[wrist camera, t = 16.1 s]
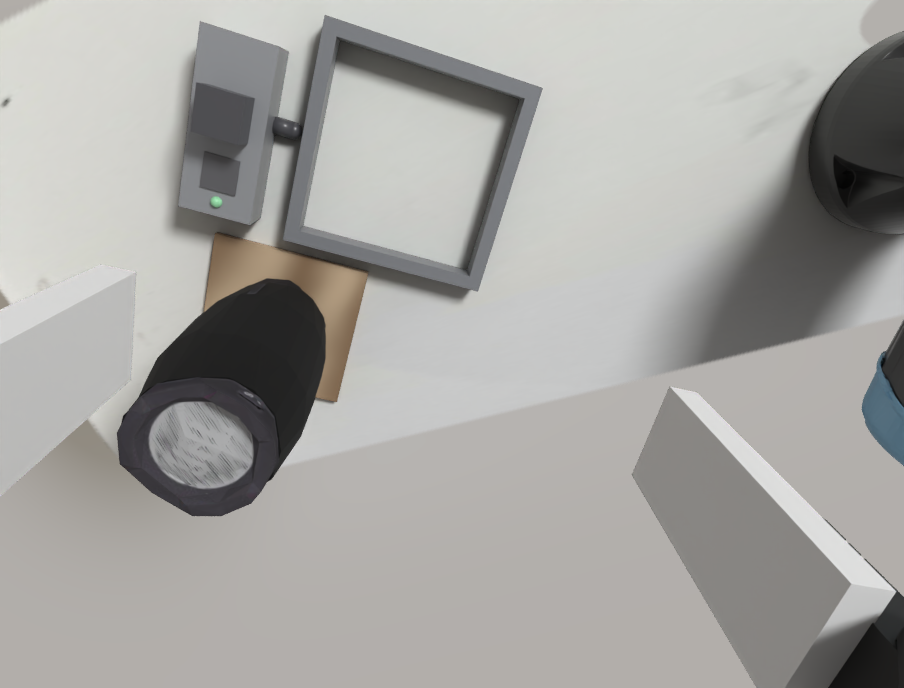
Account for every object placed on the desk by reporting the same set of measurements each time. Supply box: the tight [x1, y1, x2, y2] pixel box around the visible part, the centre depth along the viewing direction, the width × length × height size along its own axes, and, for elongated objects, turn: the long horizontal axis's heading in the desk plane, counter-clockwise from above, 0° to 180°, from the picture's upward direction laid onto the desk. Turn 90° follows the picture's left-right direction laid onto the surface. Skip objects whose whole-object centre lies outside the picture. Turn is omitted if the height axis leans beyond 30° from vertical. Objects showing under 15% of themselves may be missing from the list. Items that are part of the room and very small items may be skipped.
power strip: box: [178, 21, 289, 225], centre depth 39 cm, size 5×12×6 cm, turn 163°
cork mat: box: [204, 232, 368, 402], centre depth 47 cm, size 12×12×1 cm
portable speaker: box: [117, 278, 326, 516], centre depth 37 cm, size 9×9×20 cm
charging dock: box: [272, 15, 543, 291], centre depth 42 cm, size 18×16×2 cm
